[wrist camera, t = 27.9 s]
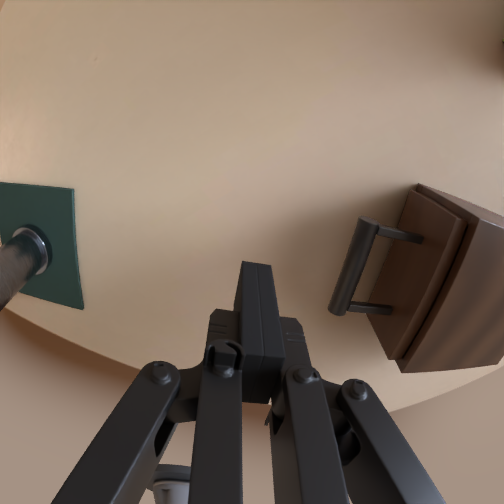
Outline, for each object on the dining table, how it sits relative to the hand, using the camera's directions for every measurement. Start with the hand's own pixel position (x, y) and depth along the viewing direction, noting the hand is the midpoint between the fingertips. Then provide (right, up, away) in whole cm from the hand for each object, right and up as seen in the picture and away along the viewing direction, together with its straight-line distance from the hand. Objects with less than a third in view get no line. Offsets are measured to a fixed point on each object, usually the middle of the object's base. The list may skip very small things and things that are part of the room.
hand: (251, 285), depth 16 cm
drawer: (+15, +1, +8) cm, 17 cm away
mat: (-20, +2, +7) cm, 22 cm away
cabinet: (+19, +1, +9) cm, 21 cm away
